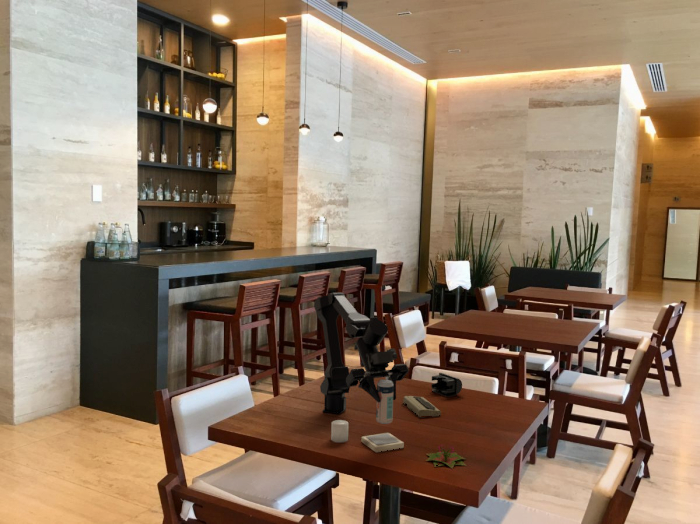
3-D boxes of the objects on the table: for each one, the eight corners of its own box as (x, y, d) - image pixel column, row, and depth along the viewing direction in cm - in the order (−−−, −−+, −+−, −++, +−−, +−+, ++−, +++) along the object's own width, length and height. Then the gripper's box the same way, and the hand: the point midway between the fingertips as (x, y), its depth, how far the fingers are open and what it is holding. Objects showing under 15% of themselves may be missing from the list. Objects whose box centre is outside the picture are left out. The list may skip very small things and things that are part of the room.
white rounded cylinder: (328, 441, 178) (329, 424, 177) (334, 435, 183) (334, 419, 182) (345, 443, 176) (345, 426, 176) (350, 437, 181) (350, 421, 181)
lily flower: (460, 452, 172) (460, 436, 172) (474, 470, 160) (474, 453, 160) (418, 454, 170) (419, 438, 170) (430, 471, 158) (430, 454, 158)
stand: (361, 441, 178) (361, 436, 178) (388, 437, 182) (388, 432, 182) (376, 452, 170) (376, 446, 170) (403, 447, 174) (403, 442, 173)
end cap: (462, 395, 228) (462, 377, 227) (447, 398, 224) (448, 379, 223) (444, 388, 236) (445, 371, 236) (430, 391, 232) (430, 373, 232)
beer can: (378, 418, 179) (379, 378, 178) (394, 420, 177) (395, 379, 176) (374, 423, 174) (375, 382, 173) (390, 425, 173) (391, 384, 172)
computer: (441, 417, 203) (441, 407, 203) (418, 418, 201) (418, 408, 201) (424, 403, 218) (424, 394, 218) (402, 404, 216) (403, 395, 216)
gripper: (351, 341, 173) (368, 390, 164) (406, 337, 182) (426, 382, 173) (338, 362, 181) (354, 409, 172) (392, 357, 189) (410, 402, 180)
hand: (387, 400), depth 174 cm, fingers closed on beer can, 5 cm apart
